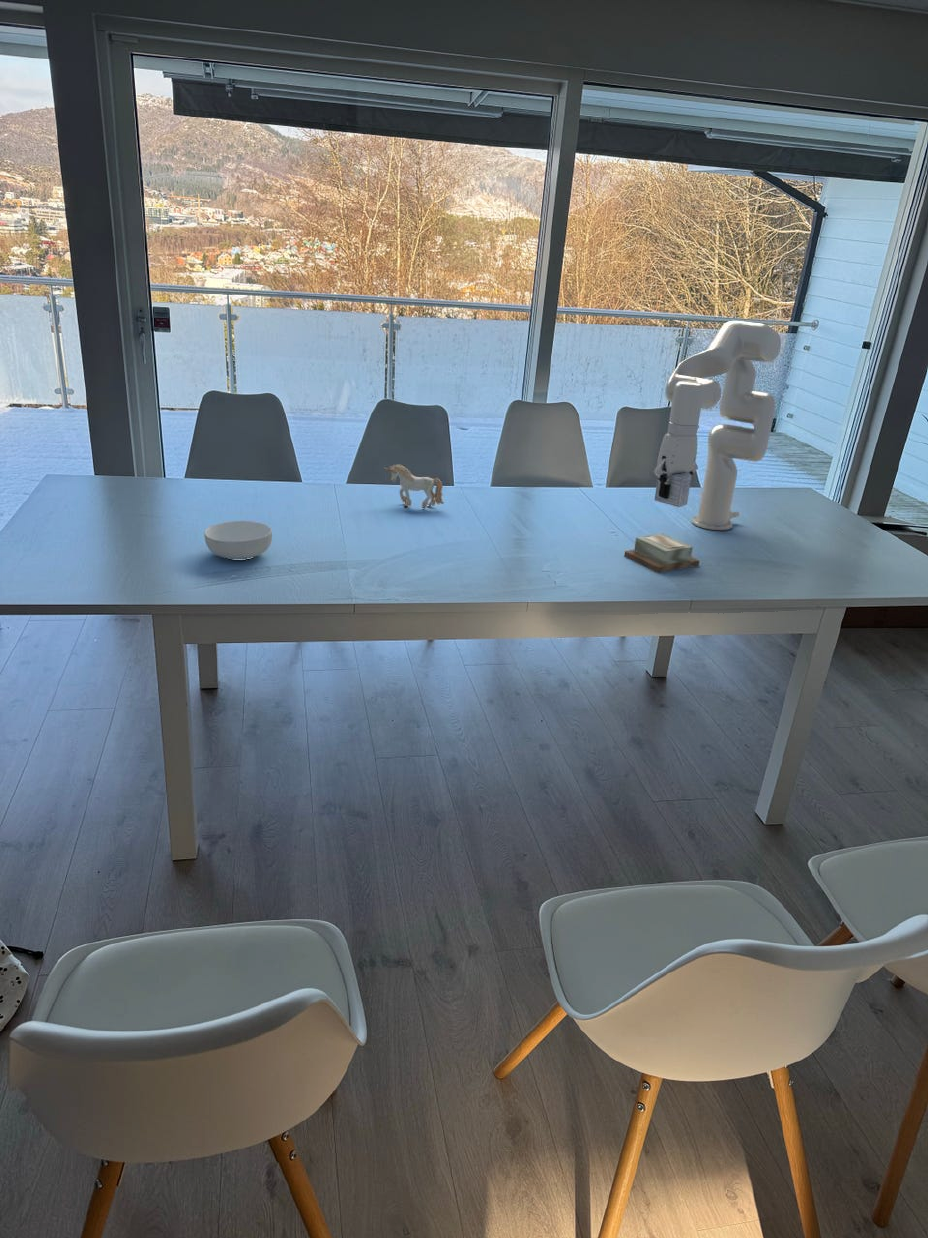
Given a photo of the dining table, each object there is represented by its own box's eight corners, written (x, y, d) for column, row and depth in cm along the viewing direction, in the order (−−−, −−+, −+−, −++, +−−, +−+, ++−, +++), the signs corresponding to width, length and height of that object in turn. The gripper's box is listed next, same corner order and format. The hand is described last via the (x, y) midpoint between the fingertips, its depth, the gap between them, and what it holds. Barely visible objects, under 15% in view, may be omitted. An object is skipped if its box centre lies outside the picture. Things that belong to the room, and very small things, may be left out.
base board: (663, 549, 257) (667, 530, 254) (698, 565, 246) (702, 546, 243) (624, 556, 249) (627, 536, 247) (658, 572, 238) (661, 552, 236)
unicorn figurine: (380, 503, 281) (381, 461, 275) (440, 503, 285) (442, 462, 279) (382, 509, 275) (383, 467, 269) (444, 510, 278) (446, 468, 273)
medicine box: (687, 505, 240) (692, 473, 236) (678, 507, 237) (683, 476, 233) (662, 498, 245) (667, 467, 241) (653, 500, 242) (658, 469, 238)
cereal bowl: (250, 541, 241) (249, 516, 239) (285, 558, 231) (284, 532, 228) (193, 553, 230) (191, 527, 227) (227, 572, 220) (226, 545, 217)
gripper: (696, 424, 240) (685, 489, 247) (648, 428, 231) (638, 495, 239) (716, 430, 234) (704, 497, 241) (668, 434, 225) (657, 503, 233)
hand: (671, 495), depth 240 cm, fingers closed on medicine box, 5 cm apart
